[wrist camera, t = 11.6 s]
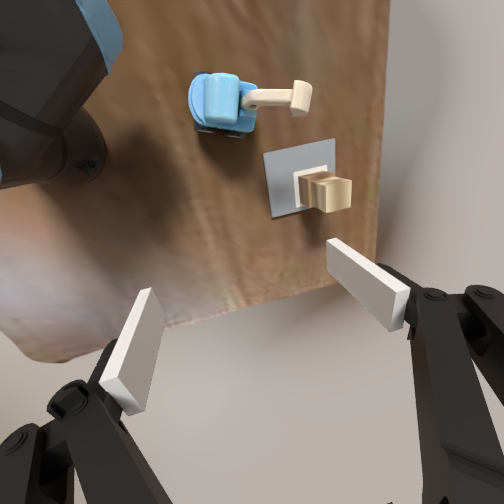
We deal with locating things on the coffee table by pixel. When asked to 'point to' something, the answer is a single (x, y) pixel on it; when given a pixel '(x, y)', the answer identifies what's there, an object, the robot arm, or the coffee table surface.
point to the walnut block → (306, 185)
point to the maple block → (331, 194)
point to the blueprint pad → (294, 173)
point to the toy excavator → (239, 102)
